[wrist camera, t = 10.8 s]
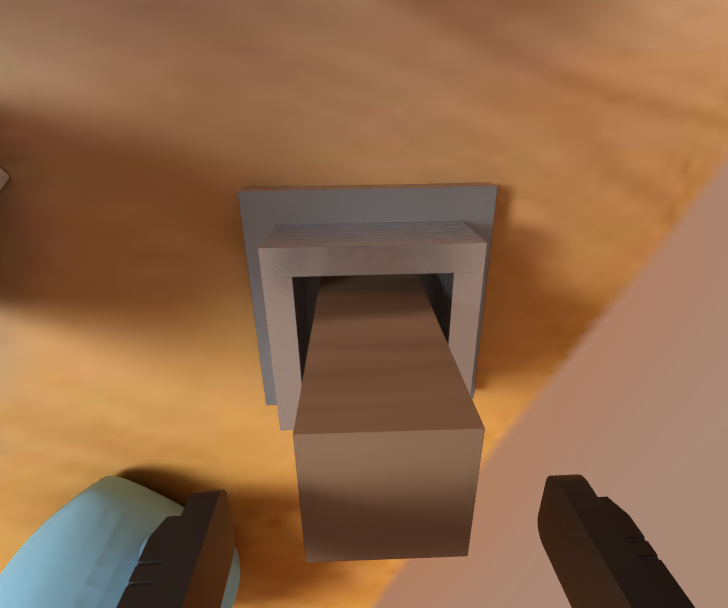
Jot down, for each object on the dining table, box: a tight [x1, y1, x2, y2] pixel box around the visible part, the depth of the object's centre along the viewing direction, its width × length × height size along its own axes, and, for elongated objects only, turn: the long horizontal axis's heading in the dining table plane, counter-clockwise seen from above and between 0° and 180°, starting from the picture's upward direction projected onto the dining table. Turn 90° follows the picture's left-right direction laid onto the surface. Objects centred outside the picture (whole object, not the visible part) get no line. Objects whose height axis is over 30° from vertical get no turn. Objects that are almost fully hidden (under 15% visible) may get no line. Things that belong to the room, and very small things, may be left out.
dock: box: [238, 183, 497, 430], centre depth 20 cm, size 12×12×5 cm
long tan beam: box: [293, 274, 485, 562], centre depth 16 cm, size 4×4×12 cm
